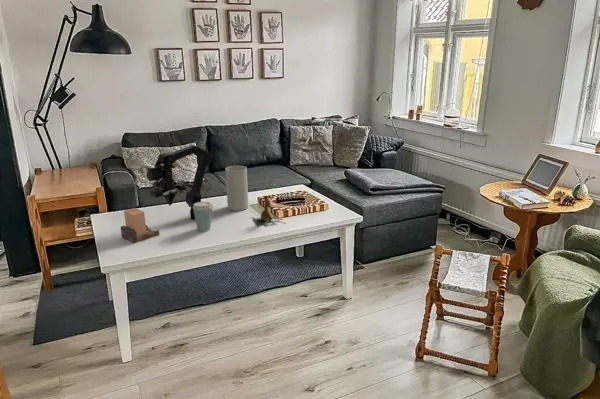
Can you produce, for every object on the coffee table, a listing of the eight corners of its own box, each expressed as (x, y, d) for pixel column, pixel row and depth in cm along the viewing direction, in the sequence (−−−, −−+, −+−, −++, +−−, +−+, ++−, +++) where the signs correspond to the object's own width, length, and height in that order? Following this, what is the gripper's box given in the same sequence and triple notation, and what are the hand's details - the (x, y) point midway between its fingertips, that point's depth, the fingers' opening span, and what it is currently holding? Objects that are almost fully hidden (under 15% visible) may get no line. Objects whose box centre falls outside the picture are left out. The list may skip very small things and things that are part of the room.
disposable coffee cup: (192, 227, 245) (190, 201, 240) (212, 224, 249) (210, 198, 244) (196, 234, 236) (194, 207, 231) (216, 231, 240) (214, 204, 235)
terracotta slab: (137, 229, 236) (134, 207, 233) (146, 233, 231) (144, 211, 227) (126, 232, 232) (123, 210, 228) (136, 237, 226) (133, 214, 223)
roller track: (146, 229, 242) (145, 219, 241) (159, 235, 235) (158, 224, 233) (121, 237, 232) (120, 226, 230) (134, 243, 225) (132, 232, 223)
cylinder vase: (247, 211, 269) (245, 170, 261) (226, 211, 269) (223, 170, 261) (249, 204, 281) (247, 165, 273) (229, 204, 281) (227, 165, 273)
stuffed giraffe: (257, 227, 245) (257, 199, 240) (251, 217, 261) (250, 191, 257) (286, 225, 250) (286, 197, 245) (277, 215, 266) (278, 189, 262)
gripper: (173, 171, 250) (175, 198, 255) (143, 178, 237) (146, 206, 242) (185, 174, 243) (187, 202, 248) (154, 182, 230) (157, 210, 235)
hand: (169, 205), depth 243 cm, fingers closed
